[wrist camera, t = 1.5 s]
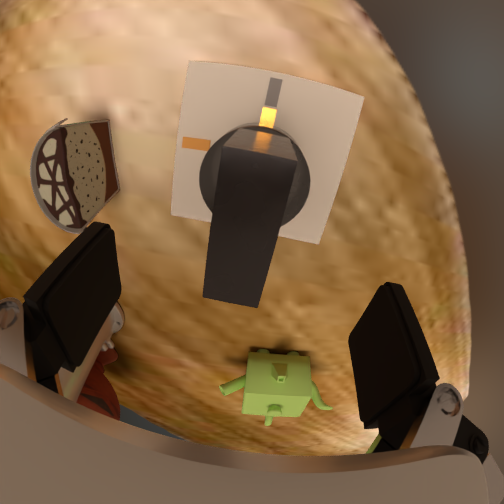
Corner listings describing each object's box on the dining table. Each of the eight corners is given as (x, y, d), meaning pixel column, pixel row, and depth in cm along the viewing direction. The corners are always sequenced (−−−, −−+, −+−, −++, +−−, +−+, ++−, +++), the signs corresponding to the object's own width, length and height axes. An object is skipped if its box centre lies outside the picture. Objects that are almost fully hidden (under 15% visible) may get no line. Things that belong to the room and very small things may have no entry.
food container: (72, 118, 26) (18, 136, 18) (108, 108, 26) (54, 121, 17) (87, 202, 33) (44, 238, 24) (122, 200, 32) (80, 238, 24)
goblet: (111, 376, 60) (82, 454, 39) (57, 329, 51) (13, 409, 31) (156, 367, 53) (124, 468, 32) (90, 309, 45) (33, 415, 24)
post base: (316, 238, 34) (325, 272, 28) (174, 209, 33) (153, 237, 27) (360, 96, 24) (384, 98, 18) (193, 62, 23) (170, 54, 17)
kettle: (329, 364, 48) (334, 415, 39) (272, 387, 54) (270, 433, 44) (282, 326, 43) (281, 387, 33) (221, 356, 48) (212, 408, 39)
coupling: (291, 220, 24) (301, 315, 15) (204, 203, 24) (158, 287, 14) (319, 119, 19) (365, 145, 10) (220, 98, 19) (167, 104, 9)
